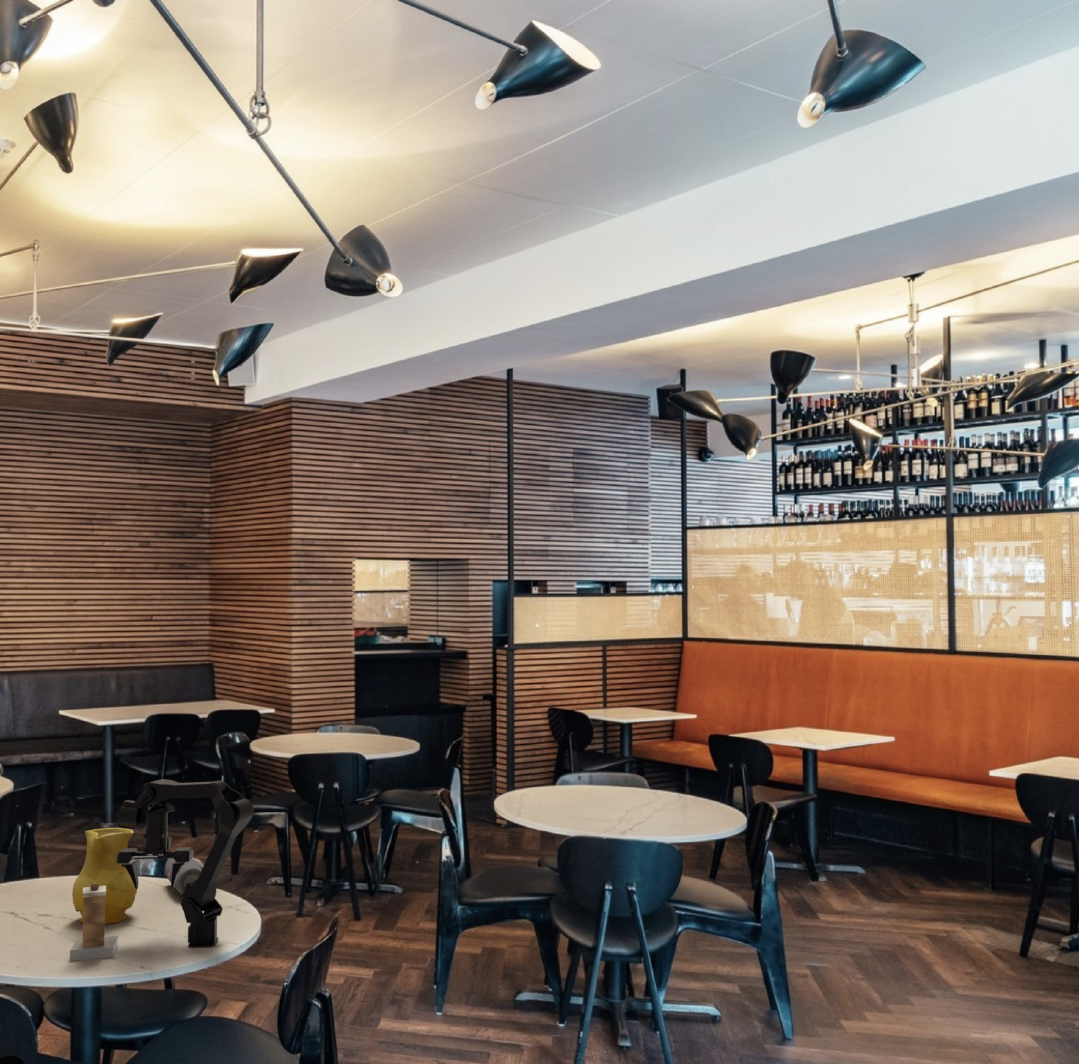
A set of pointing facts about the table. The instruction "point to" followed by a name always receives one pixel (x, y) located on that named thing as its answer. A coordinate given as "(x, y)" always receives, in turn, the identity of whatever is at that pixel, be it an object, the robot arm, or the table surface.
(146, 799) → the robot arm
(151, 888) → the table surface
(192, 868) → the bluetooth speaker
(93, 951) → the stone block
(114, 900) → the pitcher
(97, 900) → the box
